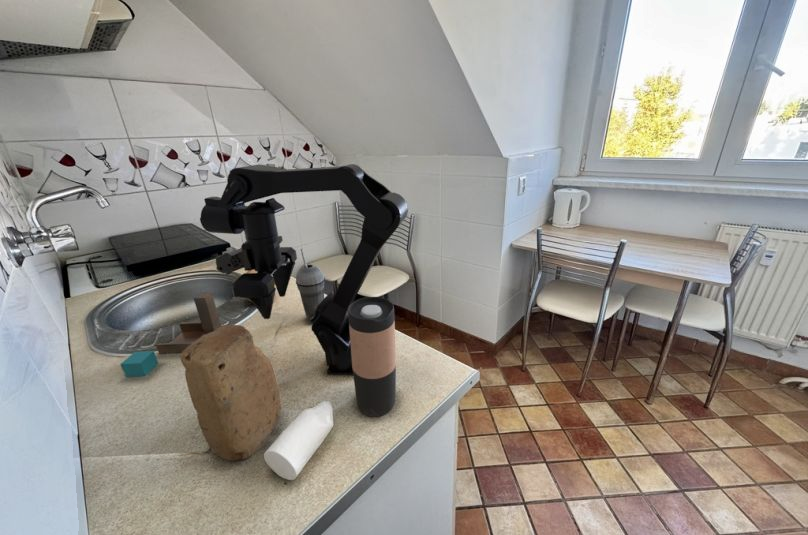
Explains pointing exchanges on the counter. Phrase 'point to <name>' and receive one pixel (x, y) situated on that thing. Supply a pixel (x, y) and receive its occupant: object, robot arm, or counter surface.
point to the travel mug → (373, 354)
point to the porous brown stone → (232, 391)
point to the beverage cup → (310, 287)
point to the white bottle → (300, 441)
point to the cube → (139, 363)
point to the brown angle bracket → (194, 325)
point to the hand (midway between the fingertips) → (275, 306)
